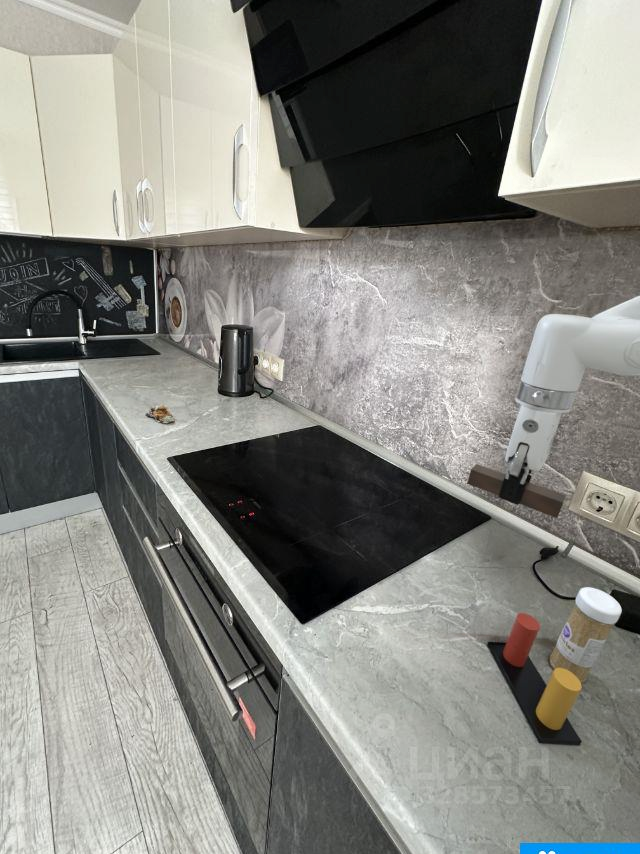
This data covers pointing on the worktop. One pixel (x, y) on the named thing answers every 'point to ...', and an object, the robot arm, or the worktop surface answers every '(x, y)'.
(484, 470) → the walnut bar
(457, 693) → the worktop surface
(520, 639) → the rod stand
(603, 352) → the robot arm
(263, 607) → the worktop surface
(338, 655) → the worktop surface
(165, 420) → the brown grey rock
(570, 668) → the sprinkles bottle
